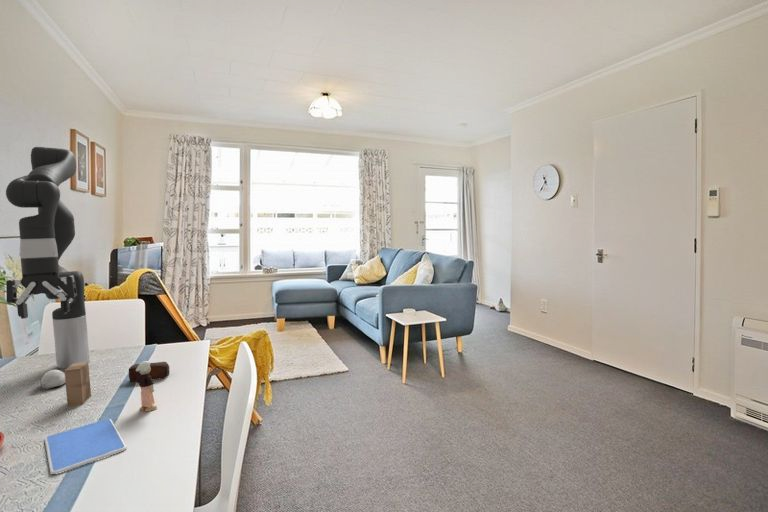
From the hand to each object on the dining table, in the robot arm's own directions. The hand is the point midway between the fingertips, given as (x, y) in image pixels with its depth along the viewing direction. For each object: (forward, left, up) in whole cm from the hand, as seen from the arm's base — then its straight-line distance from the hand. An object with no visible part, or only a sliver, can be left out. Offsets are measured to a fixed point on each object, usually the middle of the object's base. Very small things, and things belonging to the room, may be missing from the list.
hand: (44, 316), depth 105 cm
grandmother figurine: (+13, +25, -25) cm, 38 cm away
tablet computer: (+28, +16, -25) cm, 41 cm away
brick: (-11, +21, -25) cm, 34 cm away
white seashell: (-17, -6, -25) cm, 31 cm away
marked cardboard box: (0, +6, -25) cm, 25 cm away
